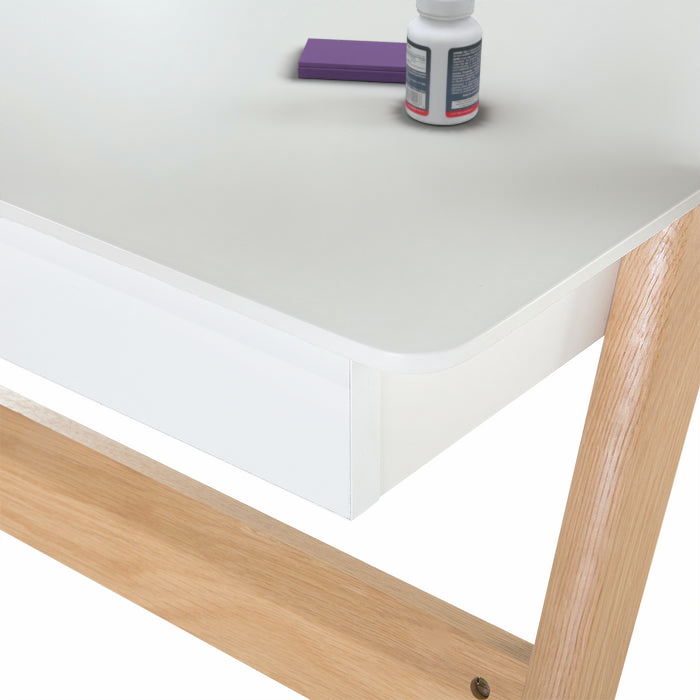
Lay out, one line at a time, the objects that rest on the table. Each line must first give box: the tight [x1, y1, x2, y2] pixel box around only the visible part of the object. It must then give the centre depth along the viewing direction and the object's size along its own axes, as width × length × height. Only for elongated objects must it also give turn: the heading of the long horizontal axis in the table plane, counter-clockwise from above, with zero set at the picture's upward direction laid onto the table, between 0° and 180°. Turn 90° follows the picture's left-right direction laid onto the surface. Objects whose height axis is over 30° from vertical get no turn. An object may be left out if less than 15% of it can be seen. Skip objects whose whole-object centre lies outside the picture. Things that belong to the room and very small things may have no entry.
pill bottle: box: [404, 0, 483, 126], centre depth 87 cm, size 5×5×9 cm
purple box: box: [297, 37, 407, 84], centre depth 96 cm, size 12×6×1 cm, turn 83°
